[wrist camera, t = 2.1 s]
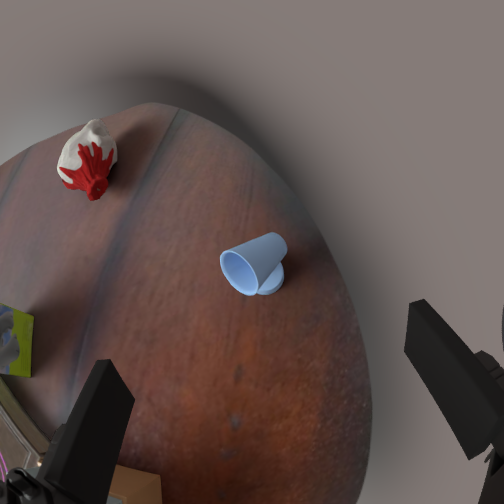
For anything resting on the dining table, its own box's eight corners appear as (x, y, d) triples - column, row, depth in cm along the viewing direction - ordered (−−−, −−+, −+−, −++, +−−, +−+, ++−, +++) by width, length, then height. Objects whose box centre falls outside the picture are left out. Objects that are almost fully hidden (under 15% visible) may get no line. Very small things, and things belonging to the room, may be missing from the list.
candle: (112, 134, 50) (142, 185, 46) (66, 169, 48) (88, 225, 44) (93, 105, 41) (120, 155, 37) (42, 144, 40) (58, 202, 36)
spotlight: (258, 313, 35) (297, 271, 36) (246, 292, 25) (299, 235, 27) (228, 287, 36) (266, 246, 38) (206, 257, 27) (258, 205, 29)
